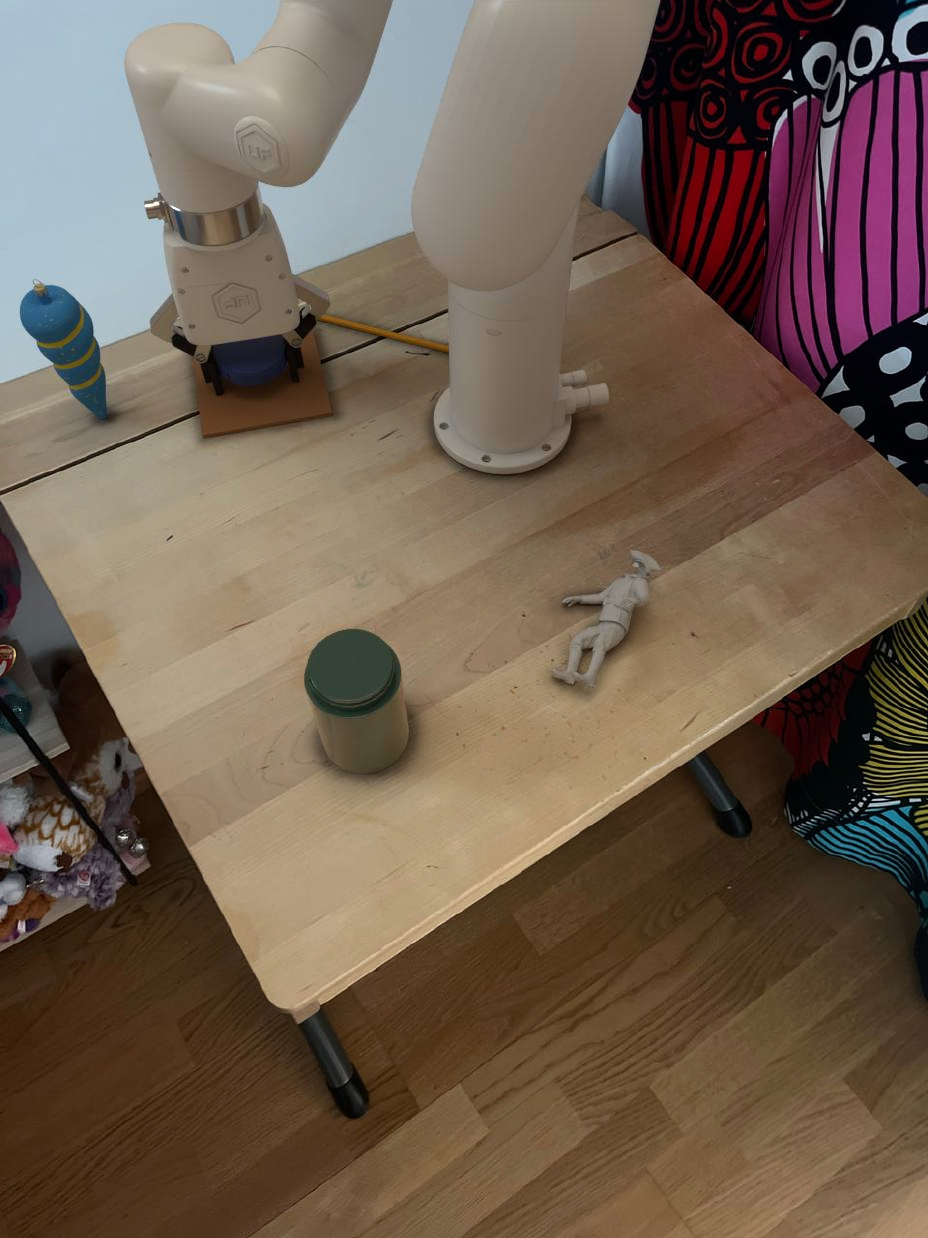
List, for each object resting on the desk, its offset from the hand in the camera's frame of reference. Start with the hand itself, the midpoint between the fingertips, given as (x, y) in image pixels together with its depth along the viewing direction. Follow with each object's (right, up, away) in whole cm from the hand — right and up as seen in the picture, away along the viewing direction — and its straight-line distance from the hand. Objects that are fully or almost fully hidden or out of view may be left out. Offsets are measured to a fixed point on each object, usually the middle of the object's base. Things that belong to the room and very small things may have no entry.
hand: (256, 377), depth 87 cm
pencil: (+12, +5, +4) cm, 14 cm away
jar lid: (0, +2, -3) cm, 3 cm away
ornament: (-14, -4, -2) cm, 15 cm away
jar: (+13, -32, -20) cm, 39 cm away
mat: (0, 0, 0) cm, 1 cm away
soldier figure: (+31, -24, -15) cm, 42 cm away
